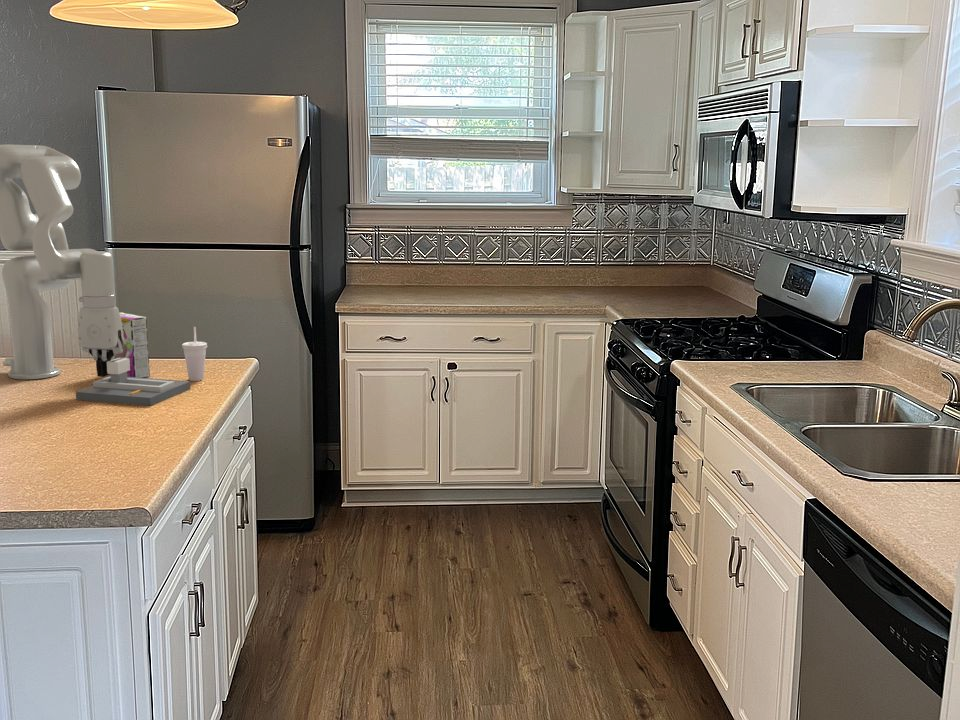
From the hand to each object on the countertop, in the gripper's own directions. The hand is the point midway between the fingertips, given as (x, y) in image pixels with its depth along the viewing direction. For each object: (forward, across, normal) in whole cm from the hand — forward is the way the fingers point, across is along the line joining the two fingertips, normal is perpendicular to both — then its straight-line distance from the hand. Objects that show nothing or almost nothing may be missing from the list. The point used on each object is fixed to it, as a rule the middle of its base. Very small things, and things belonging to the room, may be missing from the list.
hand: (104, 375), depth 237 cm
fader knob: (+2, +4, 0) cm, 5 cm away
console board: (+4, +8, 0) cm, 9 cm away
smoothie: (+4, +14, +19) cm, 24 cm away
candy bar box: (+4, -5, +18) cm, 19 cm away
